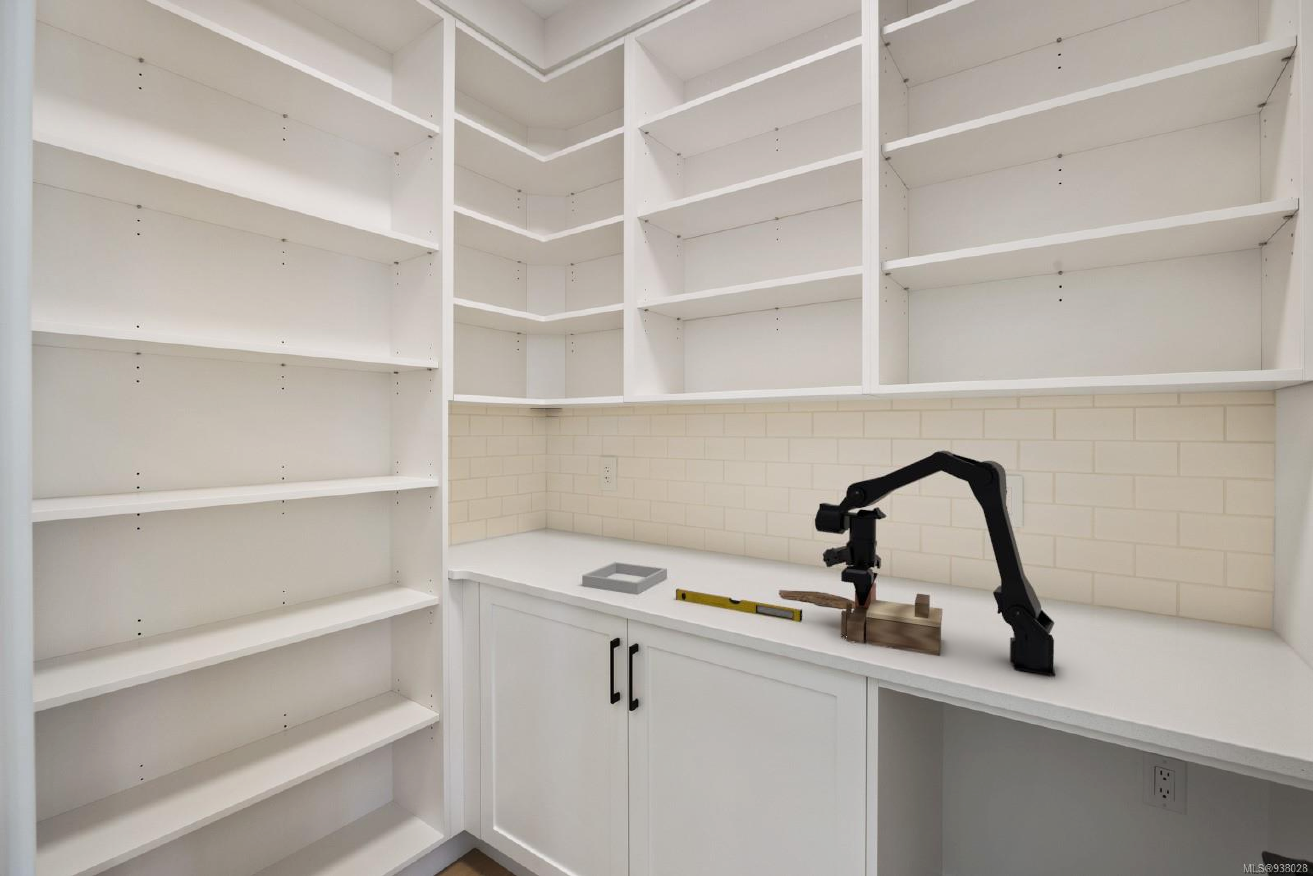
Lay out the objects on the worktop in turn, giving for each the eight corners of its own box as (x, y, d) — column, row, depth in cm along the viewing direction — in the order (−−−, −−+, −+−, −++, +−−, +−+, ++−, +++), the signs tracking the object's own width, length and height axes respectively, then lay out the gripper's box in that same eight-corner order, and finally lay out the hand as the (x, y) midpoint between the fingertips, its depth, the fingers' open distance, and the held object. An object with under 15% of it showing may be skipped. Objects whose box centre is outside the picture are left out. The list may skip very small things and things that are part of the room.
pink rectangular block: (875, 597, 143) (876, 583, 142) (870, 608, 135) (871, 592, 134) (860, 595, 144) (860, 581, 144) (854, 605, 136) (854, 590, 136)
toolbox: (942, 624, 137) (942, 600, 137) (939, 656, 118) (939, 628, 118) (855, 611, 146) (855, 589, 145) (839, 639, 127) (840, 614, 127)
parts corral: (666, 578, 176) (666, 568, 176) (637, 594, 160) (637, 583, 160) (615, 571, 184) (615, 562, 184) (582, 585, 168) (582, 575, 168)
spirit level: (675, 600, 156) (675, 589, 155) (678, 599, 157) (678, 588, 157) (800, 623, 138) (800, 610, 138) (802, 621, 139) (802, 609, 139)
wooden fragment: (769, 597, 158) (769, 593, 158) (786, 588, 167) (786, 584, 167) (867, 617, 143) (867, 612, 143) (880, 605, 152) (880, 601, 152)
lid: (942, 613, 127) (942, 594, 127) (941, 627, 118) (941, 607, 118) (872, 603, 133) (872, 586, 133) (866, 616, 125) (866, 598, 124)
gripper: (833, 527, 145) (832, 590, 146) (817, 541, 129) (816, 612, 129) (881, 531, 140) (880, 596, 141) (871, 546, 124) (870, 620, 124)
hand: (861, 605), depth 134 cm, fingers closed
